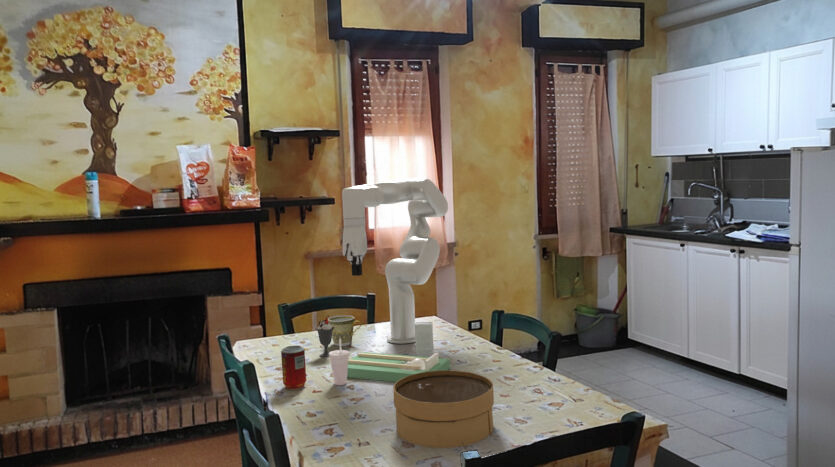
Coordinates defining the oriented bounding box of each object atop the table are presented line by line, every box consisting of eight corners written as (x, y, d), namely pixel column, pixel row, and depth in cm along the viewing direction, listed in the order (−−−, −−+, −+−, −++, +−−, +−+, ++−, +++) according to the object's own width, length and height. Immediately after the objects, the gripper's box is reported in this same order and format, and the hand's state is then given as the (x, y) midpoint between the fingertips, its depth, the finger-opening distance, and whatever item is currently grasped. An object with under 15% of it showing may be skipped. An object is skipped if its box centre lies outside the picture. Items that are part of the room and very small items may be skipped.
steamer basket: (487, 406, 173) (485, 366, 172) (502, 447, 148) (501, 399, 147) (395, 412, 172) (393, 371, 171) (395, 453, 147) (393, 406, 146)
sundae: (334, 357, 227) (332, 316, 225) (315, 358, 227) (313, 316, 226) (337, 352, 233) (335, 312, 232) (318, 353, 233) (316, 312, 232)
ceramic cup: (325, 346, 242) (323, 320, 241) (336, 340, 252) (334, 315, 251) (357, 348, 238) (355, 321, 238) (366, 341, 248) (365, 315, 247)
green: (363, 360, 222) (362, 343, 221) (449, 367, 209) (449, 349, 209) (336, 376, 205) (335, 357, 205) (428, 385, 193) (428, 365, 192)
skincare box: (434, 354, 225) (432, 321, 224) (433, 358, 221) (431, 324, 220) (417, 355, 226) (415, 321, 225) (415, 358, 222) (414, 324, 221)
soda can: (311, 384, 198) (309, 345, 196) (296, 391, 192) (293, 351, 190) (294, 381, 201) (291, 343, 200) (278, 388, 195) (275, 349, 194)
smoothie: (347, 386, 194) (345, 341, 193) (327, 386, 195) (324, 341, 194) (353, 380, 200) (351, 336, 199) (334, 379, 202) (331, 336, 200)
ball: (410, 356, 206) (425, 359, 207) (407, 372, 206) (423, 374, 206) (412, 357, 201) (427, 360, 202) (409, 373, 201) (425, 376, 201)
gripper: (355, 221, 231) (358, 271, 232) (334, 224, 217) (336, 278, 219) (374, 221, 228) (376, 272, 229) (353, 224, 214) (356, 279, 216)
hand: (357, 275), depth 224 cm, fingers closed
